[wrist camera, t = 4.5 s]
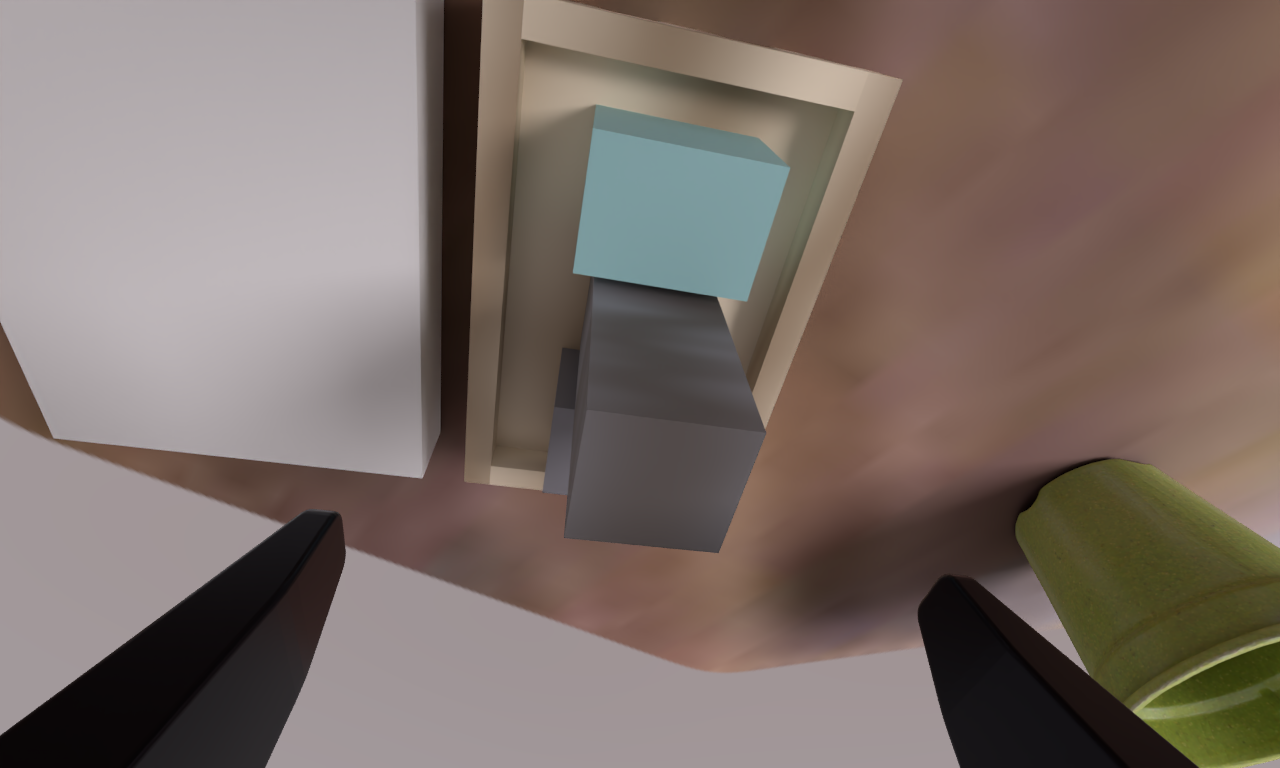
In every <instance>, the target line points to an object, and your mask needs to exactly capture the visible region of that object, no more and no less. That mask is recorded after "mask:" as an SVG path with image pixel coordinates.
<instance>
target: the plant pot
mask: <svg viewBox="0 0 1280 768" xmlns="http://www.w3.org/2000/svg"><path fill="white" fill-rule="evenodd" d="M1015 532H1016V538H1017V541H1018V543H1019V545H1020V546H1021V548H1022V550H1023V552H1024V554H1025V556H1026V558H1027V560H1028V562H1029V563H1030V565H1031V567H1032V569H1033V571H1034V572H1035V574H1036V576H1037V578H1038V580H1039V581H1040V583H1041V585H1042V587H1043V589H1044V591H1045V592H1046V594H1047V596H1048V598H1049V600H1050V602H1051V604H1052V605H1053V607H1054V609H1055V611H1056V613H1057V615H1058V617H1059V619H1060V621H1061V622H1062V624H1063V626H1064V628H1065V629H1066V632H1067V634H1068V636H1069V637H1070V639H1071V641H1072V643H1073V645H1074V647H1075V649H1076V650H1077V652H1078V654H1079V656H1080V658H1081V660H1082V662H1083V664H1084V665H1085V667H1086V669H1087V671H1088V673H1089V675H1090V677H1092V678H1093V679H1094V680H1095V681H1096V682H1098V683H1099V684H1100V685H1101V686H1102V687H1104V688H1105V689H1106V690H1107V691H1108V692H1110V693H1111V694H1112V695H1113V696H1114V697H1116V698H1117V699H1118V700H1119V701H1120V702H1122V703H1123V704H1124V705H1125V706H1126V707H1128V708H1129V709H1130V710H1131V711H1132V712H1133V713H1135V714H1136V715H1137V716H1138V717H1139V718H1141V719H1142V720H1143V721H1144V722H1145V723H1147V724H1148V725H1149V726H1150V727H1151V728H1153V729H1154V730H1155V731H1156V732H1157V733H1159V734H1160V735H1161V736H1162V737H1163V738H1165V739H1166V740H1167V741H1168V742H1169V743H1171V744H1172V745H1173V746H1174V747H1175V748H1177V749H1178V750H1179V751H1180V752H1181V753H1183V754H1184V755H1185V756H1186V757H1187V758H1189V759H1190V760H1191V761H1192V762H1193V763H1194V764H1196V765H1197V766H1198V767H1199V768H1243V767H1248V766H1252V765H1255V764H1261V763H1265V762H1269V761H1273V760H1277V759H1280V548H1278V547H1276V546H1275V545H1273V544H1272V543H1270V542H1269V541H1267V540H1266V539H1264V538H1263V537H1261V536H1260V535H1258V534H1256V533H1255V532H1253V531H1252V530H1250V529H1249V528H1247V527H1246V526H1244V525H1243V524H1241V523H1239V522H1238V521H1236V520H1235V519H1233V518H1232V517H1230V516H1229V515H1227V514H1225V513H1224V512H1222V511H1221V510H1219V509H1218V508H1216V507H1215V506H1213V505H1212V504H1210V503H1209V502H1207V501H1206V500H1204V499H1203V498H1201V497H1199V496H1198V495H1196V494H1195V493H1193V492H1192V491H1190V490H1189V489H1187V488H1186V487H1184V486H1183V485H1181V484H1180V483H1178V482H1177V481H1175V480H1173V479H1172V478H1170V477H1169V476H1167V475H1166V474H1164V473H1163V472H1161V471H1160V470H1158V469H1157V468H1155V467H1154V466H1152V465H1150V464H1147V465H1145V464H1140V463H1134V462H1130V461H1126V460H1122V459H1110V460H1103V461H1099V462H1095V463H1090V464H1087V465H1084V466H1082V467H1079V468H1076V469H1074V470H1072V471H1069V472H1067V473H1065V474H1063V475H1061V476H1059V477H1058V478H1056V479H1054V480H1053V481H1051V482H1050V483H1048V484H1047V485H1045V486H1044V487H1043V488H1042V489H1041V490H1040V492H1039V494H1038V497H1037V499H1036V501H1035V502H1034V504H1033V505H1032V506H1031V507H1030V508H1029V509H1028V510H1026V511H1024V512H1022V513H1020V514H1019V516H1018V519H1017V522H1016V527H1015Z"/></svg>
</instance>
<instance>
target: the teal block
mask: <svg viewBox="0 0 1280 768" xmlns="http://www.w3.org/2000/svg"><path fill="white" fill-rule="evenodd" d="M789 171H790V167H789V166H788V165H787V164H786V163H785V162H784V161H783V160H782V159H781V158H780V157H778V156H777V155H776V154H775V153H774V152H773V151H772V150H771V149H770V148H769V147H768V146H767V145H766V144H765V143H763V142H762V141H761V140H760V139H759V138H757V137H752V136H747V135H742V134H738V133H733V132H728V131H723V130H718V129H713V128H709V127H704V126H699V125H694V124H689V123H684V122H679V121H675V120H670V119H665V118H660V117H655V116H650V115H646V114H641V113H636V112H631V111H626V110H621V109H617V108H612V107H607V106H602V105H597V104H596V108H595V116H594V123H593V130H592V137H591V144H590V151H589V158H588V166H587V173H586V180H585V187H584V194H583V201H582V208H581V216H580V223H579V230H578V238H577V245H576V253H575V260H574V268H573V273H575V274H581V275H587V276H593V277H600V278H606V279H612V280H618V281H624V282H630V283H636V284H642V285H648V286H654V287H661V288H667V289H673V290H679V291H685V292H691V293H697V294H703V295H709V296H715V297H722V298H728V299H734V300H740V301H746V302H747V300H748V297H749V294H750V291H751V288H752V285H753V281H754V278H755V275H756V272H757V269H758V266H759V263H760V260H761V257H762V254H763V251H764V248H765V245H766V241H767V238H768V235H769V232H770V229H771V226H772V223H773V220H774V217H775V214H776V211H777V208H778V204H779V201H780V198H781V195H782V192H783V189H784V186H785V183H786V180H787V177H788V174H789Z"/></svg>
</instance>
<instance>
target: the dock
mask: <svg viewBox="0 0 1280 768" xmlns="http://www.w3.org/2000/svg"><path fill="white" fill-rule="evenodd" d="M443 63H444V0H0V322H1V324H2V327H3V329H4V331H5V333H6V335H7V337H8V340H9V342H10V344H11V346H12V348H13V351H14V353H15V355H16V357H17V359H18V362H19V364H20V366H21V368H22V370H23V372H24V375H25V377H26V379H27V381H28V383H29V386H30V388H31V390H32V392H33V394H34V396H35V399H36V401H37V403H38V405H39V407H40V410H41V412H42V414H43V416H44V418H45V420H46V423H47V425H48V427H49V429H50V431H51V434H52V436H53V438H55V439H65V440H74V441H83V442H92V443H101V444H111V445H120V446H129V447H138V448H147V449H157V450H166V451H175V452H184V453H193V454H203V455H212V456H221V457H230V458H239V459H249V460H258V461H267V462H276V463H285V464H295V465H304V466H313V467H322V468H331V469H341V470H350V471H359V472H368V473H377V474H386V475H396V476H405V477H414V478H423V476H424V473H425V470H426V468H427V465H428V463H429V460H430V458H431V455H432V452H433V450H434V447H435V445H436V442H437V440H438V437H439V435H440V430H441V308H442V186H443Z"/></svg>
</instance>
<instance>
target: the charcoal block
mask: <svg viewBox="0 0 1280 768" xmlns="http://www.w3.org/2000/svg"><path fill="white" fill-rule="evenodd" d="M579 353H580V350H576V349H569V348H563V347H562V353H561V360H560V368H559V375H558V382H557V389H556V396H555V403H554V411H553V418H552V425H551V432H550V440H549V447H548V454H547V462H546V469H545V476H544V484H543V491H542V492H543V493H553V494H562V495H568V484H569V472H570V460H571V448H572V436H573V424H574V412H575V401H576V389H577V377H578V365H579Z"/></svg>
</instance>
